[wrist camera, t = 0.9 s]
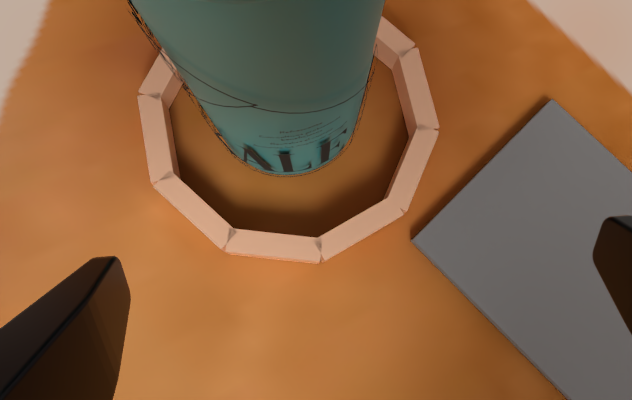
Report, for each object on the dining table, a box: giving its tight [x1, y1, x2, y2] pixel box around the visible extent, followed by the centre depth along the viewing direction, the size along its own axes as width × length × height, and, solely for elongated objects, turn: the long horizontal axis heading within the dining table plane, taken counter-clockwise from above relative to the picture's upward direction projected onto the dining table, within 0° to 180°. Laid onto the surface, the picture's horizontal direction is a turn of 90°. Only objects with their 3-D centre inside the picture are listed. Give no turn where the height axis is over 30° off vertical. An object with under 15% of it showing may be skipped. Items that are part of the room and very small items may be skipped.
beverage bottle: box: [127, 0, 385, 177], centre depth 13 cm, size 6×7×20 cm
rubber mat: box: [411, 99, 632, 400], centre depth 22 cm, size 16×10×1 cm, turn 44°
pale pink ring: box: [137, 15, 440, 264], centre depth 22 cm, size 13×14×2 cm
